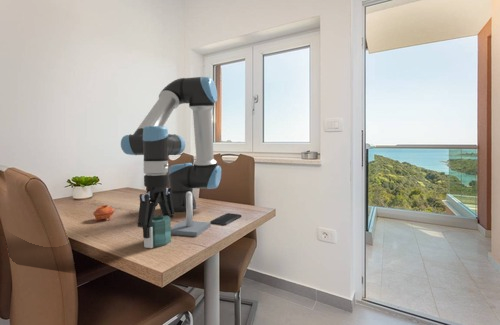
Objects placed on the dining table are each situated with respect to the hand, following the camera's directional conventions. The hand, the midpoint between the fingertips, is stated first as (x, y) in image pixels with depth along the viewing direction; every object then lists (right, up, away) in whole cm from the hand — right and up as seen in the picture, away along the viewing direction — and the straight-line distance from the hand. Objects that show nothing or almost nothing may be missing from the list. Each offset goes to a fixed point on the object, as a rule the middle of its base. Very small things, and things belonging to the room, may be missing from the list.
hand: (158, 241), depth 82 cm
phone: (+20, +1, +26) cm, 33 cm away
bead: (0, 0, 0) cm, 0 cm away
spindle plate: (+7, +1, +13) cm, 15 cm away
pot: (-33, +1, +26) cm, 43 cm away
